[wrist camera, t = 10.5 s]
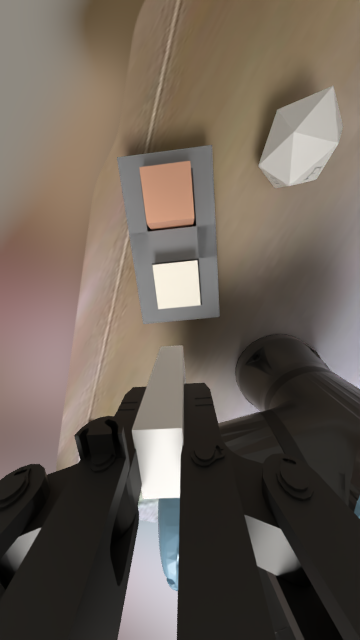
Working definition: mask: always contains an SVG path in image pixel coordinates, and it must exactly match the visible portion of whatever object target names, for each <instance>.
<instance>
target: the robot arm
mask: <svg viewBox="0 0 360 640" xmlns="http://www.w3.org/2000/svg"><path fill="white" fill-rule="evenodd" d="M236 381H237V384H238V386H239V388H240V390H241V392H242V394H243V395H244V397H245V398H246V399H247V400H248V401H249V402H250V403H251V404H252V405H254V406H255V407H256V408H257V409H258V410H259V411H261V412H257V413H254V414H250V415H247V416H243V417H239V418H236V419H232V420H229V421H225V422H221V423H218V421H217V417H216V413H215V409H214V405H213V400H212V396H211V392H210V389H209V388H208V387H207V385H206V384H205V383H192V384H186V377H185V364H184V350H183V345H178V346H163V347H160V350H159V353H158V356H157V359H156V361H155V364H154V367H153V370H152V373H151V376H150V379H149V382H148V385H147V387H133V388H132V389H131V390H130V391H129V392H128V393H127V394H125V396H124V398H123V400H122V402H121V404H120V406H119V408H118V411H117V412H116V414H115V416H114V417H113V416H106V417H100V418H98V419H95V420H93V421H91V422H89V423H88V424H86V425H85V426H83V427H82V428H81V429H80V430H79V431H78V432H77V433H76V434H75V440H76V444H77V448H78V452H79V456H80V459H81V460H80V461H79V463H78V464H75V465H73V466H71V467H68V468H65V469H62V470H59V471H56V472H54V473H51V474H48V475H46V472H45V469H44V467H42V466H41V465H40V464H30V465H27V466H24V467H21V468H19V469H17V470H15V471H13V472H11V473H10V474H8V475H6V476H5V477H4V478H2V479H1V480H0V640H117V638H118V632H119V627H120V622H121V616H122V611H123V605H124V600H125V594H126V589H127V583H128V578H129V573H130V567H131V562H132V556H133V551H134V545H135V540H136V535H137V529H138V524H139V511H138V501H139V496H140V491H141V490H142V496H143V499H154V498H159V503H158V532H159V547H160V556H161V562H162V567H163V571H164V574H165V576H166V577H167V582H168V584H169V586H170V587H171V588H172V589H173V590H176V591H178V614H177V617H178V618H177V640H360V389H359V388H357V387H355V386H354V385H352V384H351V383H349V382H347V381H346V380H344V379H343V378H341V377H339V376H338V375H336V374H335V373H333V372H332V371H331V370H330V369H329V368H328V367H327V365H326V364H325V363H324V361H323V360H322V359H321V358H320V356H319V355H318V354H317V352H316V351H315V350H314V349H313V348H312V347H311V346H310V345H308V344H307V343H305V342H303V341H301V340H300V339H298V338H296V337H293V336H290V335H283V334H276V335H270V336H266V337H263V338H261V339H259V340H257V341H255V342H254V343H252V344H251V345H250V346H248V347H247V348H246V349H245V351H244V352H243V353H242V355H241V356H240V358H239V360H238V362H237V366H236Z"/></svg>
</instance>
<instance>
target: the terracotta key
mask: <svg viewBox="0 0 360 640" xmlns="http://www.w3.org/2000/svg"><path fill="white" fill-rule="evenodd" d="M139 169H140V176H141V184H142V191H143V199H144V206H145V214H146V221H147V225H148V226H149V228H150V229H151V230H152V231H158V230H167V229H176V228H185V227H193V223H194V205H193V191H192V177H191V163H190V161H184V162H176V163H168V164H161V165H153V166H145V167H139Z"/></svg>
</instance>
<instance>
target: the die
mask: <svg viewBox="0 0 360 640" xmlns="http://www.w3.org/2000/svg"><path fill="white" fill-rule="evenodd" d="M342 129H343V124H342V119H341V115H340V111H339V107H338V103H337V99H336V94H335V90H334V86H331V87H329V88H326V89H324V90H322V91H319V92H317V93H315V94H312V95H310V96H308V97H305V98H303V99H301V100H298V101H296V102H294V103H291V104H289V105H287V106H284V107H282V108H280V109H277V112H276V115H275V118H274V121H273V124H272V127H271V130H270V133H269V136H268V139H267V142H266V145H265V148H264V150H263V153H262V156H261V159H260V162H259V165H258V166H259V168H260V169H261V170H262V172H263V173H264V174H265V176H266V177H267V178H268V180H269V181H270V182H271V184H272V185H273V187H274V188H280V187H286V186H291V185H296V184H300V183H305V182H309V181H313V180H316V179H317V178H318V176H319V174H320V173H321V171H322V169H323V168H324V166H325V165H326V163H327V161H328V160H329V158H330V156H331V155H332V153H333V152H334V150H335V148H336V147H337V145H338V143H339V140H340V136H341V132H342Z"/></svg>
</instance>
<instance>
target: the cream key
mask: <svg viewBox="0 0 360 640" xmlns="http://www.w3.org/2000/svg"><path fill="white" fill-rule="evenodd" d="M152 266H153V274H154V281H155V289H156V296H157V304H158V309H166V308H177V307H187V306H197V305H201V303H200V289H199V275H198V261H197V260H195V261H186V262H176V263H167V264H157V265H152Z"/></svg>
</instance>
